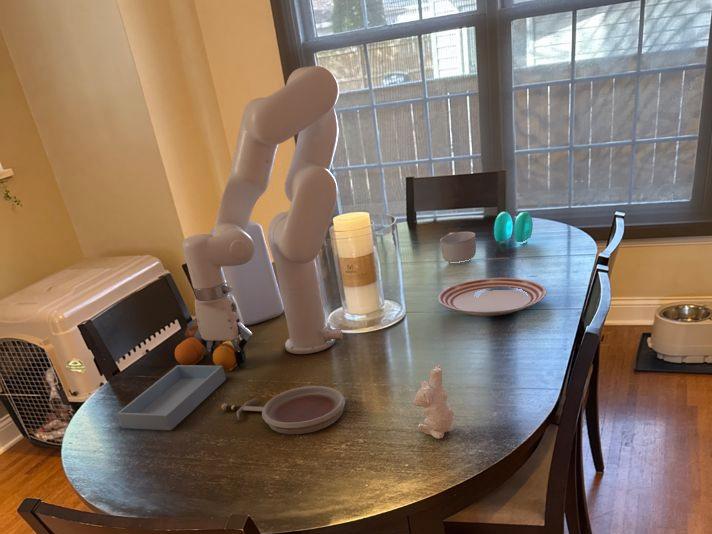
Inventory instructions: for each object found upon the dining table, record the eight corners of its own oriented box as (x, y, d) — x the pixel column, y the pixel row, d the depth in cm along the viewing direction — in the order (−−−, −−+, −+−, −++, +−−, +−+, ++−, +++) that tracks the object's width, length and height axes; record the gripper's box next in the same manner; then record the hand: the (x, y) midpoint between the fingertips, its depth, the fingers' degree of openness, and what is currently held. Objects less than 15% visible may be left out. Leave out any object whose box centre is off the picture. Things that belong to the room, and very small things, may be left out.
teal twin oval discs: (522, 248, 213) (522, 216, 207) (493, 248, 218) (492, 216, 212) (533, 240, 219) (534, 208, 214) (505, 239, 224) (504, 208, 219)
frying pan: (239, 383, 147) (356, 384, 137) (242, 395, 149) (358, 397, 138) (198, 420, 134) (324, 425, 124) (202, 433, 136) (327, 438, 125)
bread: (225, 354, 170) (219, 333, 167) (183, 342, 182) (177, 322, 179) (244, 345, 173) (239, 324, 170) (202, 334, 185) (196, 314, 182)
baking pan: (226, 379, 156) (222, 365, 154) (171, 430, 137) (166, 415, 136) (181, 378, 160) (177, 365, 158) (121, 428, 142) (116, 413, 140)
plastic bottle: (266, 303, 201) (245, 205, 186) (290, 313, 190) (269, 210, 175) (220, 318, 195) (195, 218, 180) (242, 329, 184) (216, 224, 169)
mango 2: (249, 358, 165) (243, 336, 162) (232, 373, 158) (226, 351, 155) (228, 358, 167) (223, 336, 164) (211, 373, 160) (205, 351, 157)
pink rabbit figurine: (428, 420, 126) (423, 361, 120) (462, 423, 123) (459, 363, 117) (412, 442, 120) (405, 382, 114) (447, 446, 117) (443, 384, 111)
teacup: (478, 264, 205) (477, 237, 201) (443, 269, 206) (441, 242, 201) (472, 252, 217) (471, 227, 212) (439, 257, 217) (437, 231, 213)
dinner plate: (512, 280, 188) (512, 268, 186) (567, 306, 165) (568, 293, 163) (422, 302, 182) (421, 290, 181) (467, 333, 160) (466, 319, 158)
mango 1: (211, 355, 171) (205, 333, 168) (193, 369, 164) (187, 347, 161) (191, 355, 173) (185, 333, 170) (173, 369, 166) (167, 347, 163)
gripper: (252, 285, 153) (268, 358, 163) (187, 287, 159) (207, 358, 168) (237, 296, 147) (255, 371, 157) (171, 298, 153) (192, 370, 163)
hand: (230, 363), depth 162 cm, fingers closed on mango 2, 5 cm apart
